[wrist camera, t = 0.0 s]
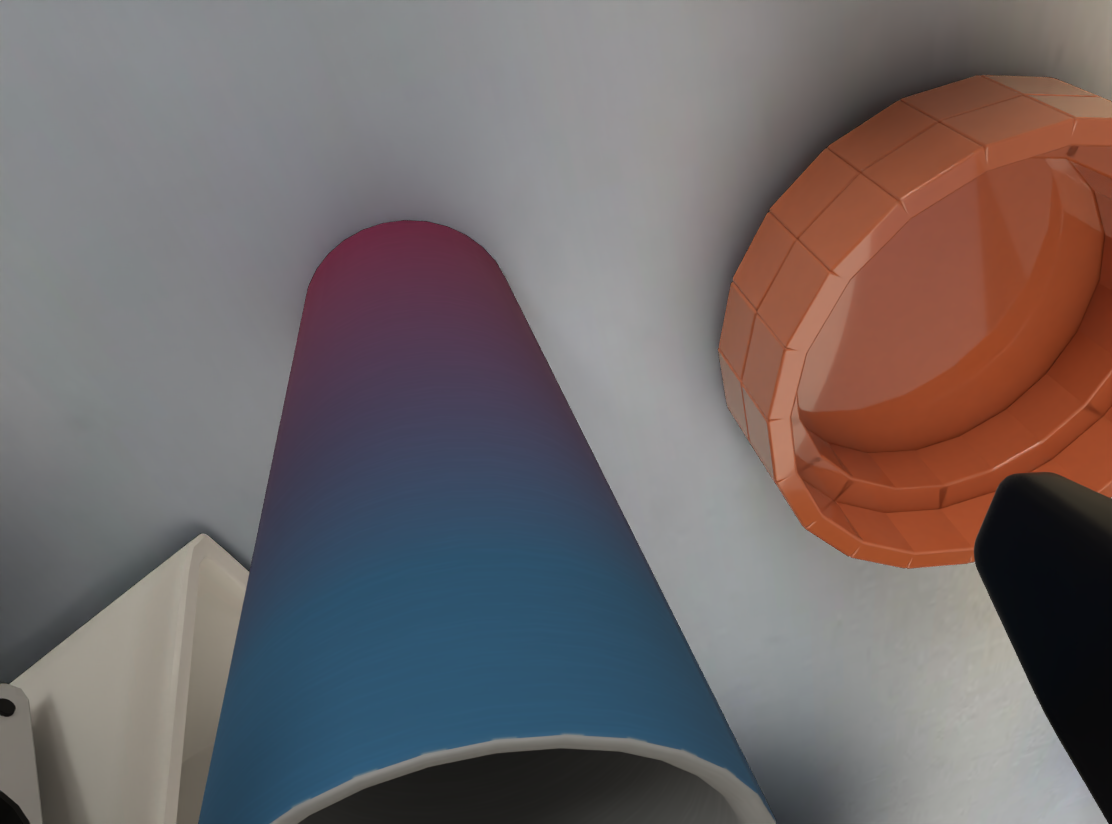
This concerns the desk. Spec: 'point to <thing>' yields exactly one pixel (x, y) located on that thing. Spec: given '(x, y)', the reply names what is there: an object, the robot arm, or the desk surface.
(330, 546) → the cup
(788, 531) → the desk surface
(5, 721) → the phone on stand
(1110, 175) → the bowl
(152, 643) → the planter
